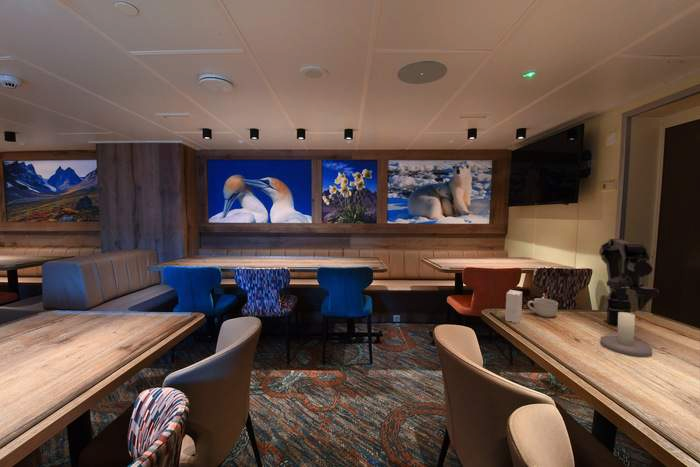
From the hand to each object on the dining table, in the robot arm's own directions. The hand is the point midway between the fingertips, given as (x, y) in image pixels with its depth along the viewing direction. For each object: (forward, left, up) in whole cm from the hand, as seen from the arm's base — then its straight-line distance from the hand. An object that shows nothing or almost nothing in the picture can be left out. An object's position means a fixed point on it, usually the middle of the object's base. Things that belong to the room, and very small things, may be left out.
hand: (630, 306), depth 127 cm
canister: (+13, -13, -11) cm, 21 cm away
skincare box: (-18, -41, -13) cm, 47 cm away
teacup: (-26, -22, -13) cm, 37 cm away
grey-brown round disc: (+13, -13, -13) cm, 23 cm away
